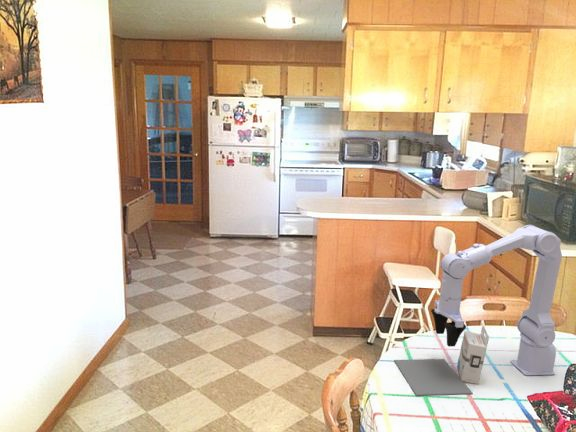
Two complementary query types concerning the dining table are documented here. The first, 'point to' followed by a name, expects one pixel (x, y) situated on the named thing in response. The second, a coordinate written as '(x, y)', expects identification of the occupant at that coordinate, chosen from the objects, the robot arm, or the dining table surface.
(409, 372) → the rubber mat
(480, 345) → the ink box
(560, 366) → the dining table surface
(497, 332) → the dining table surface
